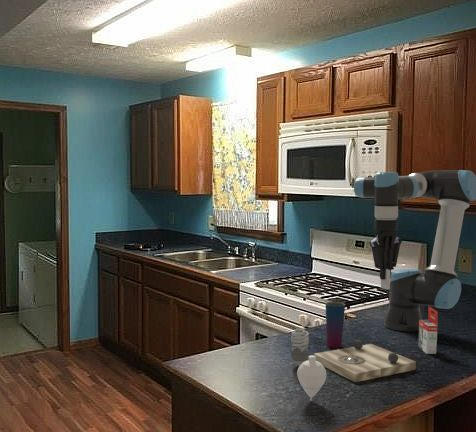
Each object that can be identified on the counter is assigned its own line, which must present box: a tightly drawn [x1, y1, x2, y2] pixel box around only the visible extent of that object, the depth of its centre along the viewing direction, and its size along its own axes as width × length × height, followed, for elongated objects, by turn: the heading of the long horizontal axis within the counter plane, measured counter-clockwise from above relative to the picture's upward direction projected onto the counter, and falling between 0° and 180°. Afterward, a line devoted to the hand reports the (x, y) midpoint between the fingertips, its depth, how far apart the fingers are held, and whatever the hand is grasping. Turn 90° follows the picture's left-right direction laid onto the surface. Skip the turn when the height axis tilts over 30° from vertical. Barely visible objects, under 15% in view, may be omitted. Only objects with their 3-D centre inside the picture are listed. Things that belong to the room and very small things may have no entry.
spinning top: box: [296, 354, 327, 402], centre depth 141 cm, size 8×8×12 cm
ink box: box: [417, 306, 439, 355], centre depth 184 cm, size 4×8×15 cm, turn 2°
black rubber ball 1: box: [353, 339, 364, 349], centre depth 177 cm, size 3×3×3 cm
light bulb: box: [290, 328, 310, 367], centre depth 166 cm, size 6×6×12 cm
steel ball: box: [346, 358, 356, 362], centre depth 166 cm, size 3×3×3 cm
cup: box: [325, 301, 346, 349], centre depth 188 cm, size 7×7×15 cm
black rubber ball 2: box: [388, 352, 399, 363], centre depth 164 cm, size 3×3×3 cm
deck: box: [313, 343, 417, 383], centre depth 169 cm, size 24×20×2 cm
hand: (385, 288), depth 179 cm, fingers closed
